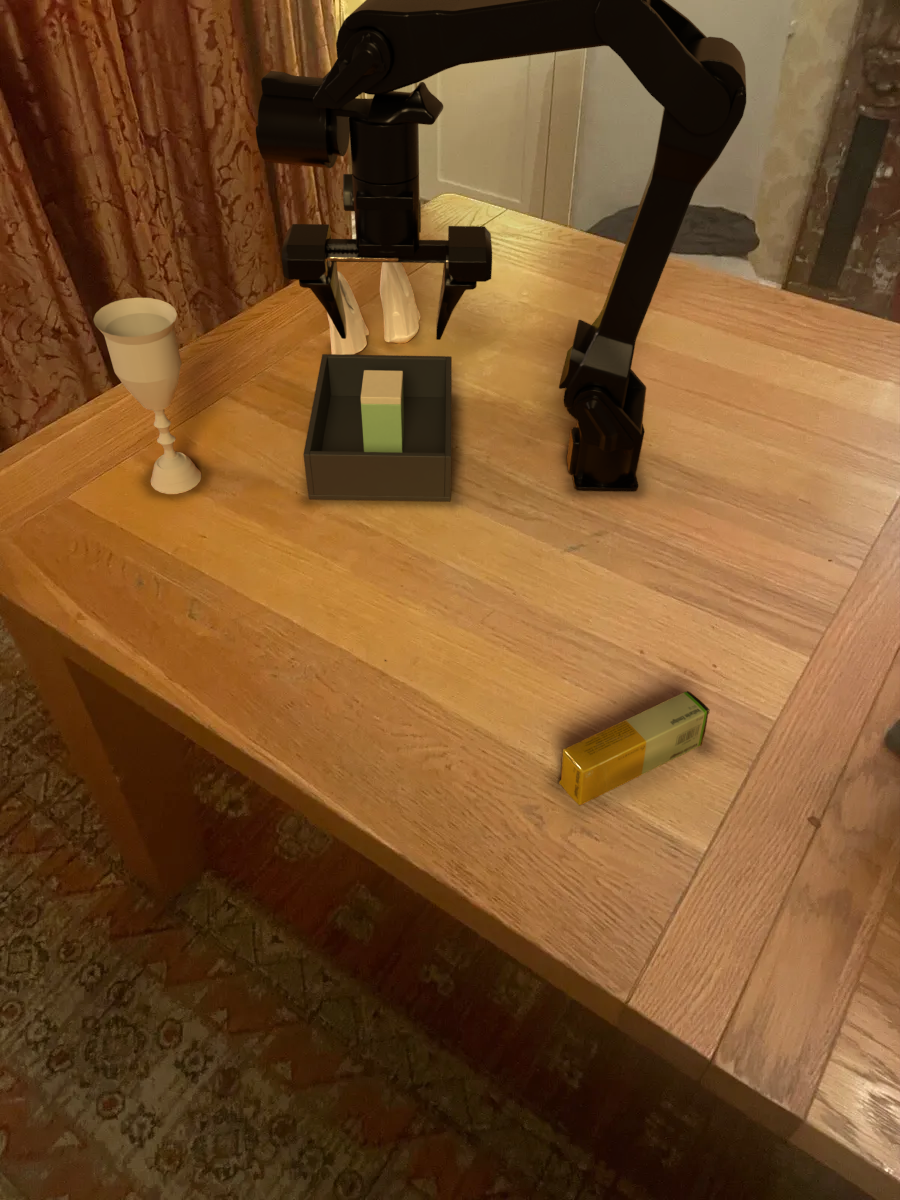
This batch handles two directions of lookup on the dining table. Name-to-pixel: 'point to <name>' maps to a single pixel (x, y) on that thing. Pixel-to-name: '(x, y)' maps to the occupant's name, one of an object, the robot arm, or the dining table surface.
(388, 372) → the juice carton
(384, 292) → the shaker set
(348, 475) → the bin
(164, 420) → the chalice
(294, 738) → the dining table surface
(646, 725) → the medication box
